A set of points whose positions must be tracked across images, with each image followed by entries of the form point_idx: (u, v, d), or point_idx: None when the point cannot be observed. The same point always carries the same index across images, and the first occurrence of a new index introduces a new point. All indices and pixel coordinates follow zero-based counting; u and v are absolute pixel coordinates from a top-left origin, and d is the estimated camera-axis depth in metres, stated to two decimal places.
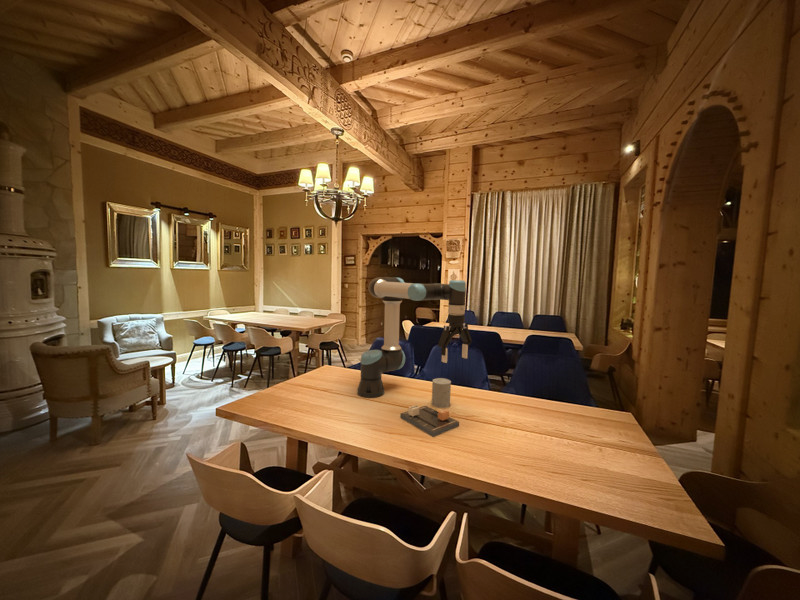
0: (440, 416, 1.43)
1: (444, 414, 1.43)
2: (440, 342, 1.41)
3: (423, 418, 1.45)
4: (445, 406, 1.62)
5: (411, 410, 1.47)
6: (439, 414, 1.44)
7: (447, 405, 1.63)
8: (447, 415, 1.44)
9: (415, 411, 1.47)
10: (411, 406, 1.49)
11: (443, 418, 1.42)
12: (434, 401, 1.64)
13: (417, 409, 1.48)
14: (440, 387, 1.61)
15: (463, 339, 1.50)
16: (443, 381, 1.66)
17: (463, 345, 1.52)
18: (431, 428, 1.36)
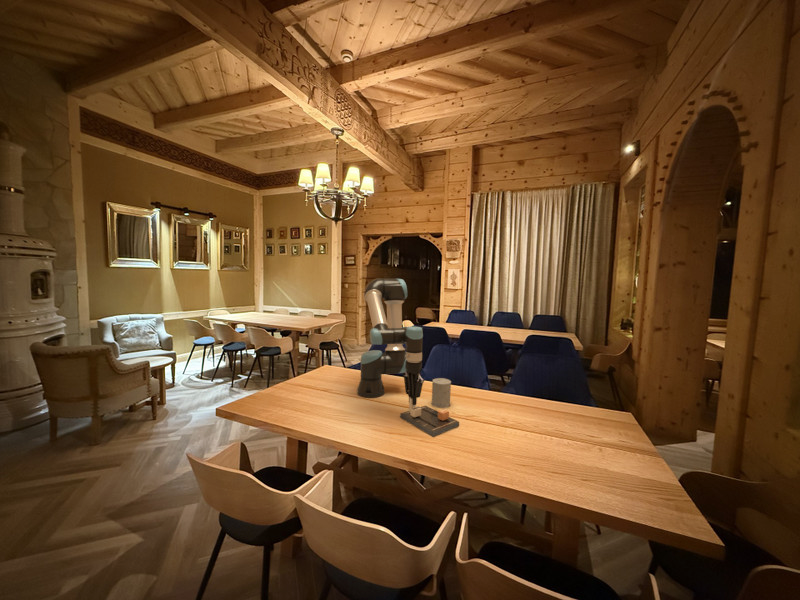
0: (440, 416, 1.43)
1: (444, 414, 1.43)
2: None
3: (423, 418, 1.45)
4: (445, 406, 1.62)
5: (413, 411, 1.46)
6: (439, 414, 1.44)
7: (447, 405, 1.63)
8: (447, 415, 1.44)
9: (417, 412, 1.46)
10: (413, 407, 1.48)
11: (443, 418, 1.42)
12: (434, 401, 1.64)
13: (419, 410, 1.46)
14: (440, 387, 1.61)
15: None
16: (443, 381, 1.66)
17: None
18: (431, 428, 1.36)
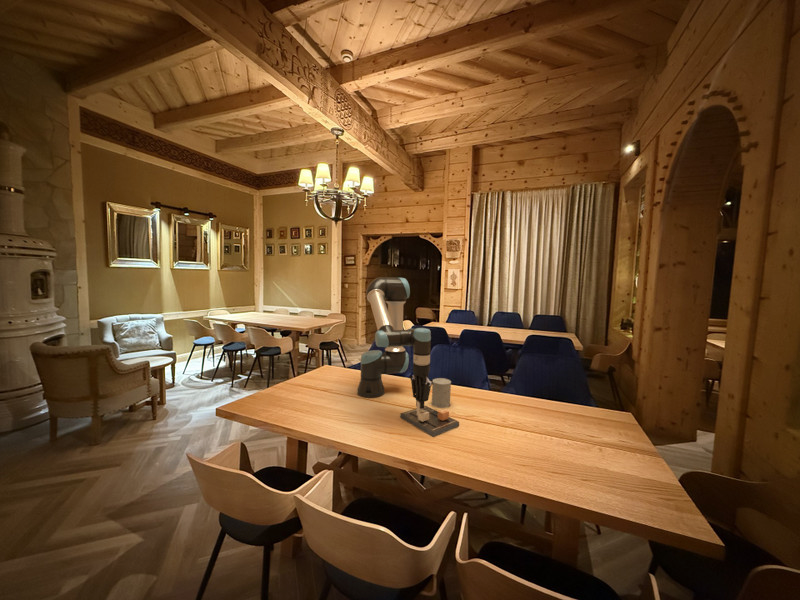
0: (440, 416, 1.43)
1: (444, 414, 1.43)
2: None
3: None
4: (445, 406, 1.62)
5: (420, 415, 1.42)
6: (439, 414, 1.44)
7: (447, 405, 1.63)
8: (447, 415, 1.44)
9: (425, 416, 1.42)
10: (421, 411, 1.44)
11: (443, 418, 1.42)
12: (434, 401, 1.64)
13: (427, 414, 1.42)
14: (440, 387, 1.61)
15: None
16: (443, 381, 1.66)
17: None
18: (431, 428, 1.36)
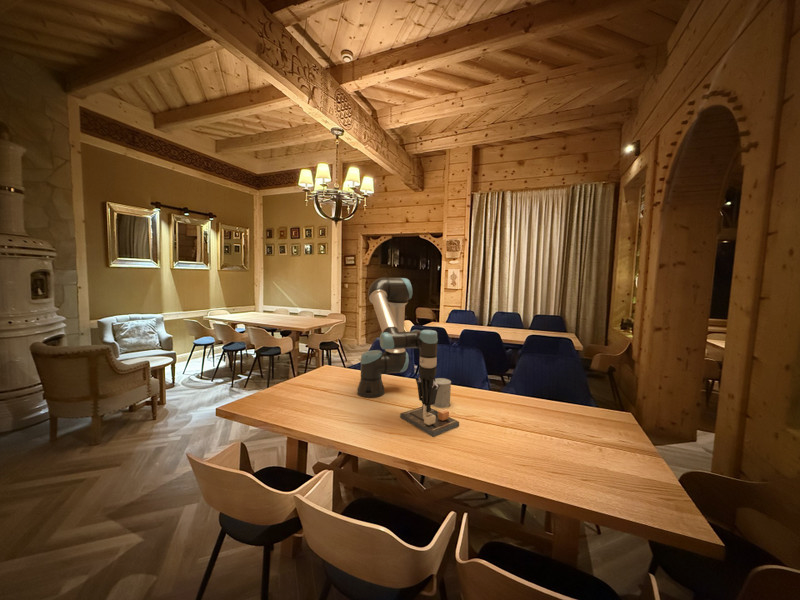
0: (440, 416, 1.43)
1: (444, 414, 1.43)
2: None
3: None
4: (445, 406, 1.62)
5: (427, 419, 1.38)
6: (439, 414, 1.44)
7: (447, 405, 1.63)
8: (447, 415, 1.44)
9: (431, 420, 1.39)
10: (427, 414, 1.41)
11: (443, 418, 1.42)
12: None
13: (433, 417, 1.39)
14: (440, 387, 1.61)
15: None
16: (443, 381, 1.66)
17: None
18: (431, 428, 1.36)
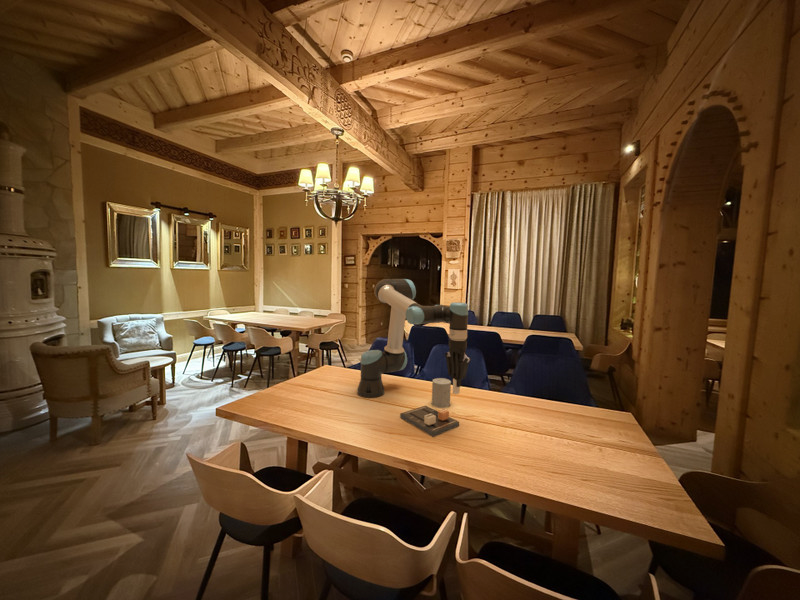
0: (440, 416, 1.43)
1: (444, 414, 1.43)
2: None
3: (423, 418, 1.45)
4: (445, 406, 1.62)
5: (427, 419, 1.38)
6: (439, 414, 1.44)
7: (447, 405, 1.63)
8: (447, 415, 1.44)
9: (431, 420, 1.38)
10: None
11: (443, 418, 1.42)
12: (434, 401, 1.64)
13: (433, 417, 1.39)
14: (440, 387, 1.61)
15: None
16: (443, 381, 1.66)
17: None
18: (431, 428, 1.36)
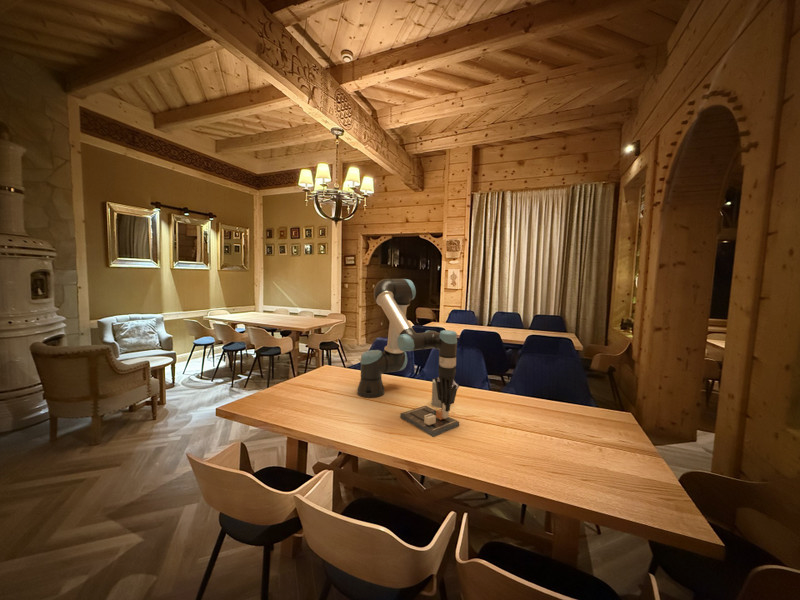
0: (438, 415, 1.44)
1: None
2: None
3: (423, 418, 1.45)
4: None
5: (427, 419, 1.38)
6: (437, 413, 1.45)
7: None
8: None
9: (431, 420, 1.38)
10: None
11: (441, 418, 1.43)
12: (434, 401, 1.64)
13: (433, 417, 1.39)
14: None
15: None
16: None
17: None
18: (431, 428, 1.36)
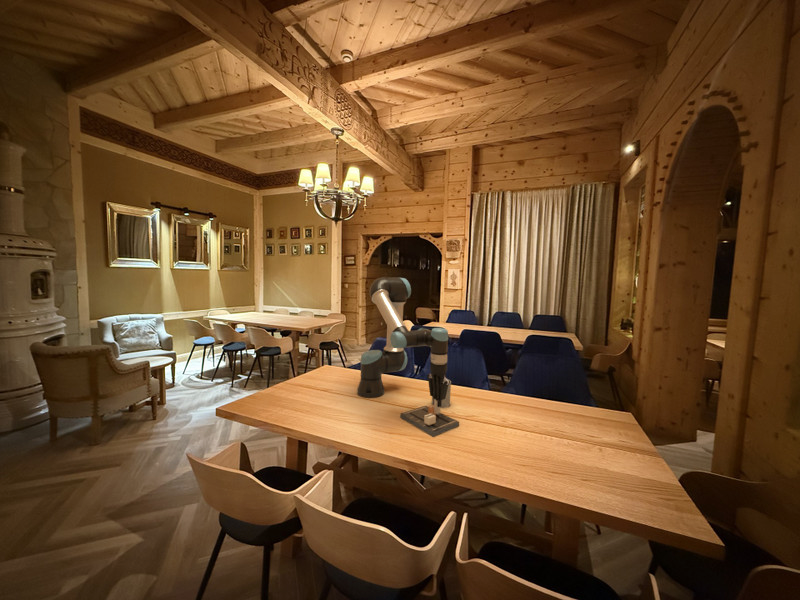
0: (430, 411, 1.48)
1: None
2: None
3: (423, 418, 1.45)
4: (445, 406, 1.62)
5: (427, 419, 1.38)
6: (429, 409, 1.49)
7: (447, 405, 1.63)
8: None
9: (431, 420, 1.38)
10: None
11: None
12: None
13: (433, 417, 1.39)
14: None
15: None
16: None
17: None
18: (431, 428, 1.36)
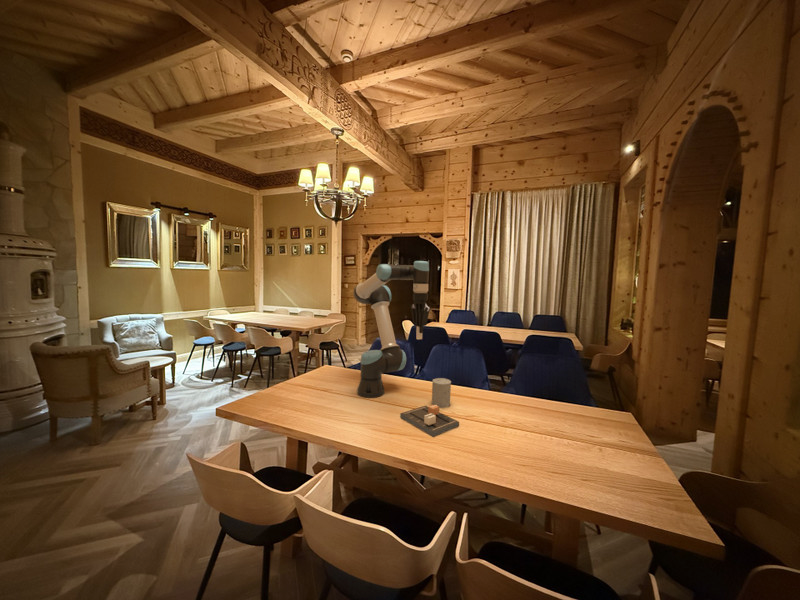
0: (430, 411, 1.48)
1: (434, 409, 1.48)
2: None
3: (423, 418, 1.45)
4: (445, 406, 1.62)
5: (427, 419, 1.38)
6: (429, 409, 1.49)
7: (447, 405, 1.63)
8: (437, 410, 1.49)
9: (431, 420, 1.38)
10: None
11: None
12: (434, 401, 1.64)
13: (433, 417, 1.39)
14: (440, 387, 1.61)
15: None
16: (443, 381, 1.66)
17: None
18: (431, 428, 1.36)
